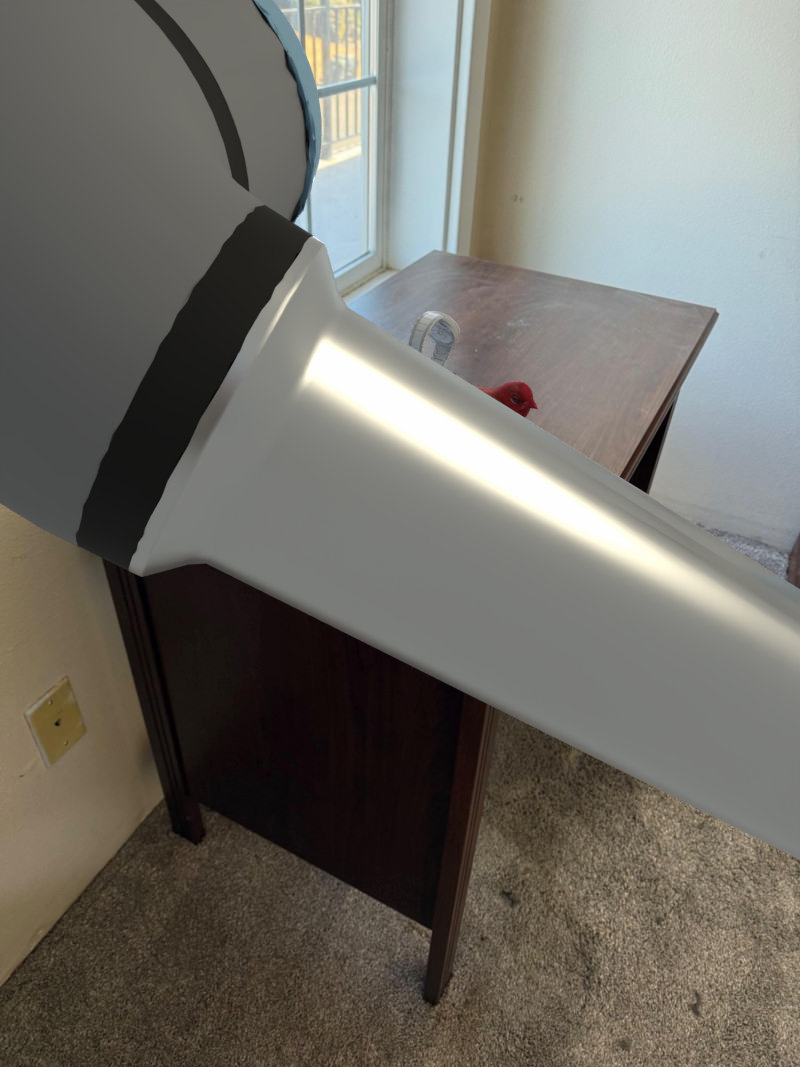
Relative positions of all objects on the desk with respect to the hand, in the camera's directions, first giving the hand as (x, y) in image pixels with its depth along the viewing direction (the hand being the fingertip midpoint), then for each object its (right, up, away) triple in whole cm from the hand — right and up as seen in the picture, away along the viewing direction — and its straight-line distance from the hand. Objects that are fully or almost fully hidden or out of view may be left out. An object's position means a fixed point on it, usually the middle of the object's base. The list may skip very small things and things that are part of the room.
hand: (445, 491), depth 61 cm
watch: (0, +15, +38) cm, 40 cm away
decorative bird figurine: (+4, +7, +29) cm, 30 cm away
